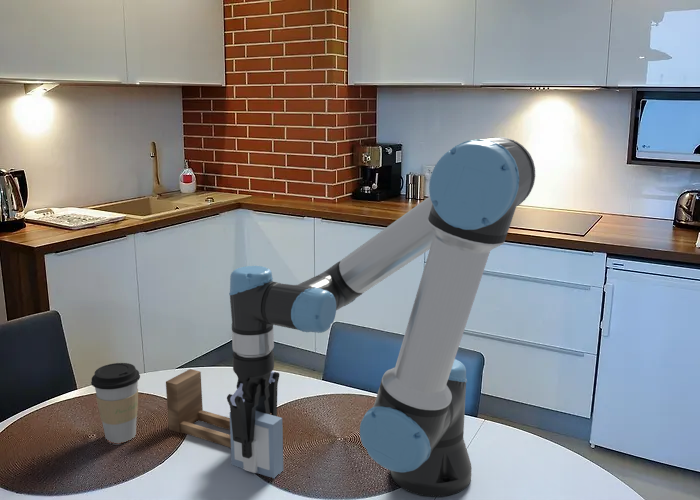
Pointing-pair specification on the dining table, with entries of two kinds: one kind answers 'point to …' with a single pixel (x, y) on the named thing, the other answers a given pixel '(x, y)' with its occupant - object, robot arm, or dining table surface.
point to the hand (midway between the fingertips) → (256, 465)
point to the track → (193, 409)
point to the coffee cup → (117, 400)
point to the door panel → (263, 445)
